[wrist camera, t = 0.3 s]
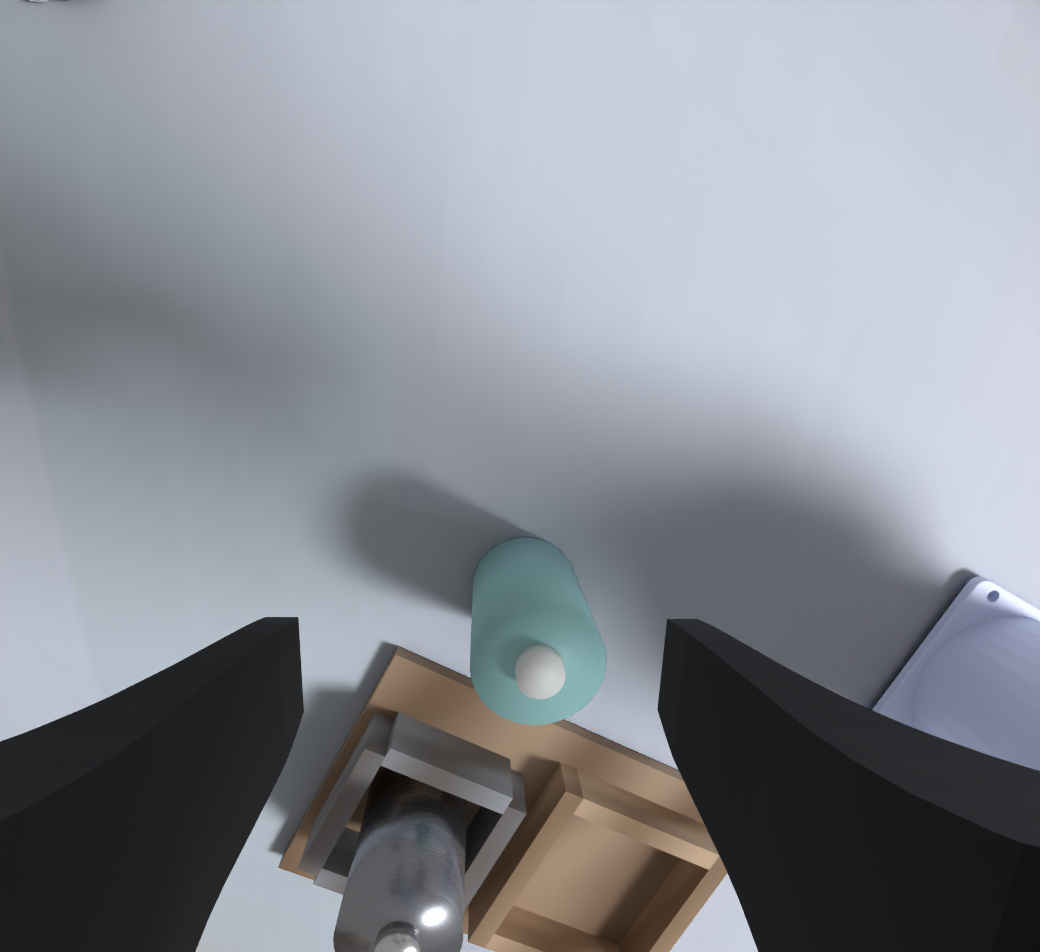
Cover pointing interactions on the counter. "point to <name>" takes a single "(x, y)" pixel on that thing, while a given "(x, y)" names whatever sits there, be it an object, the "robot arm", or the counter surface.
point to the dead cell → (406, 871)
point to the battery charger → (38, 0)
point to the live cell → (532, 634)
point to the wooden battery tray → (523, 819)
